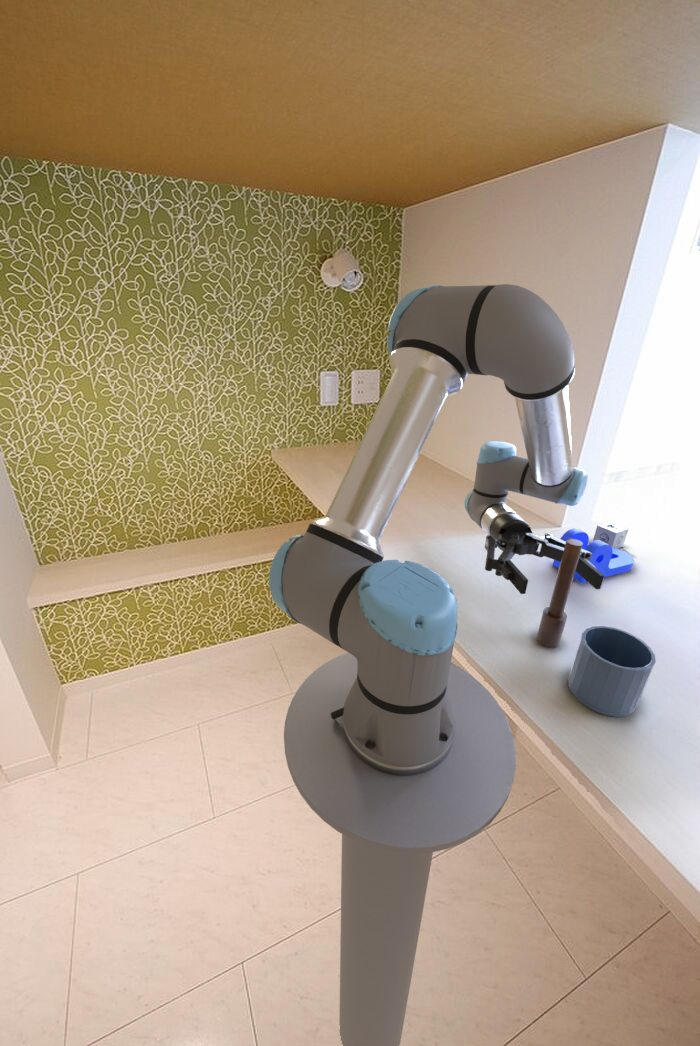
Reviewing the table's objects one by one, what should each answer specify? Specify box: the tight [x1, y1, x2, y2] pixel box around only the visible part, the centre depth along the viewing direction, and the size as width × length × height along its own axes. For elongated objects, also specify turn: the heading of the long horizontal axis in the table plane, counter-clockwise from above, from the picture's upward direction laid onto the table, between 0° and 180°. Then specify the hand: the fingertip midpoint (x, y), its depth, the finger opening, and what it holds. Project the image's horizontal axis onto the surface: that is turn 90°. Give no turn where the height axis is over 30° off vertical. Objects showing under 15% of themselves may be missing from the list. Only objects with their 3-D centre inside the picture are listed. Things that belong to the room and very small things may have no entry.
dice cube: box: [592, 520, 629, 549], centre depth 110 cm, size 5×5×5 cm
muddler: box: [536, 539, 583, 649], centre depth 73 cm, size 4×4×20 cm
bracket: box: [552, 527, 635, 584], centre depth 99 cm, size 18×8×9 cm, turn 111°
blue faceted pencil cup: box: [567, 625, 657, 718], centre depth 65 cm, size 9×9×9 cm
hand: (563, 585), depth 73 cm, fingers open, 13 cm apart
